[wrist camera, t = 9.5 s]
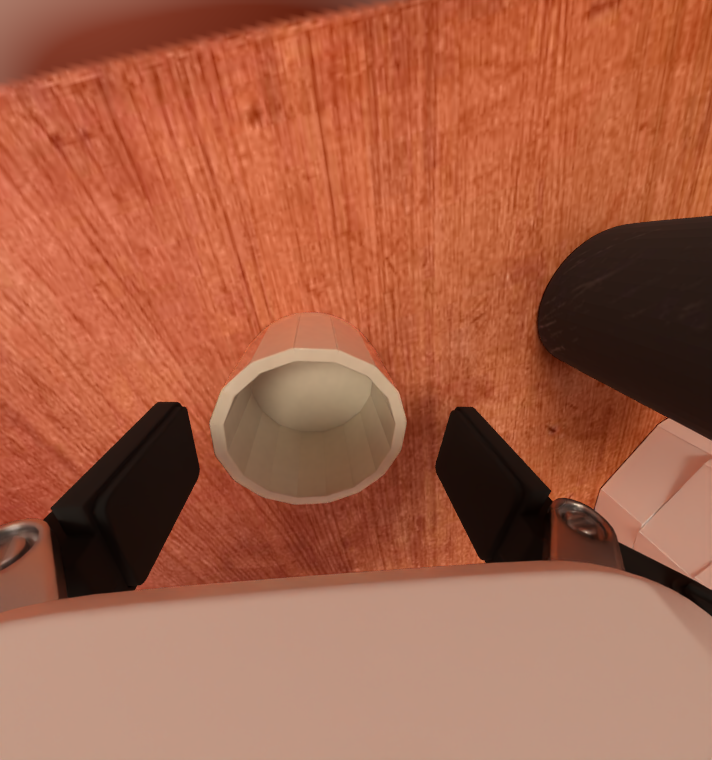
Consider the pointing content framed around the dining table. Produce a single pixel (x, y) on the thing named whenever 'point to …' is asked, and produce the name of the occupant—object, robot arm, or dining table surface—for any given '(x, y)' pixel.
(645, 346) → the travel mug
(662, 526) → the container
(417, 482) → the dining table surface
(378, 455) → the bowl
